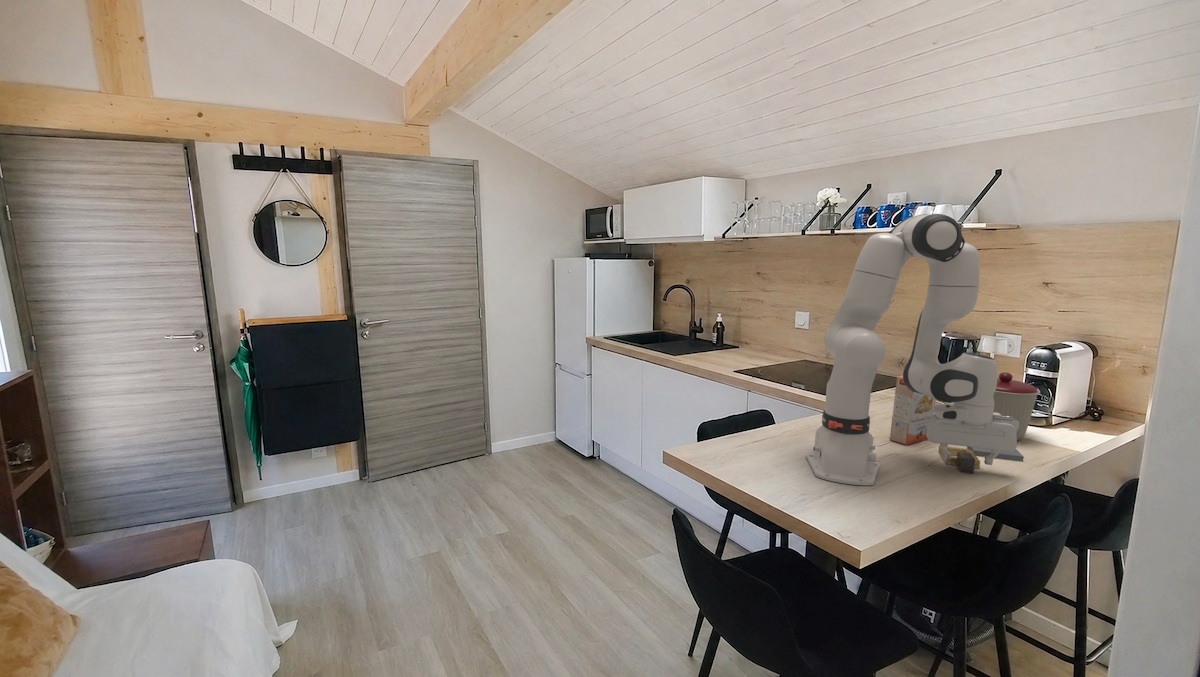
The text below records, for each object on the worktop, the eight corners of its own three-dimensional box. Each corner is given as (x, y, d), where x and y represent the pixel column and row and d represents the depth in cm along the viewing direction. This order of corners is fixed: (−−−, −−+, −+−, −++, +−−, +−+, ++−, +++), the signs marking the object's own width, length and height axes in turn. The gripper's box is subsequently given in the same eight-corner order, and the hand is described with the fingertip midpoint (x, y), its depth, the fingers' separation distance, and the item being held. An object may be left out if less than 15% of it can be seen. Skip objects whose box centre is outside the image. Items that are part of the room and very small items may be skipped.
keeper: (1023, 461, 154) (1028, 421, 152) (973, 455, 158) (978, 415, 156) (1009, 447, 164) (1014, 409, 163) (963, 442, 169) (967, 405, 167)
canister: (1048, 444, 168) (1058, 378, 165) (997, 446, 165) (1006, 379, 162) (997, 425, 186) (1005, 366, 182) (951, 428, 183) (958, 367, 180)
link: (938, 451, 160) (939, 439, 160) (970, 455, 157) (971, 442, 157) (949, 470, 147) (951, 456, 146) (984, 475, 144) (986, 460, 143)
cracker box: (907, 446, 165) (914, 379, 161) (888, 440, 170) (895, 375, 166) (932, 438, 172) (939, 374, 169) (913, 433, 177) (920, 371, 174)
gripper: (1016, 413, 144) (1009, 463, 146) (927, 405, 151) (923, 452, 154) (1024, 420, 138) (1017, 471, 140) (931, 411, 146) (927, 460, 148)
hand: (967, 461), depth 147 cm, fingers open, 8 cm apart
